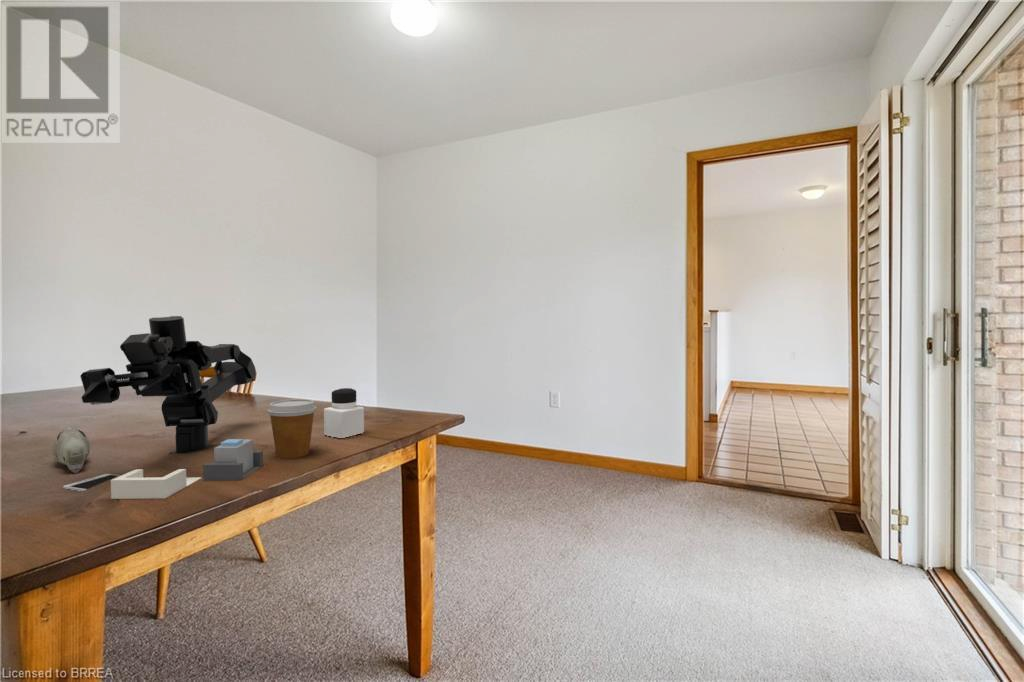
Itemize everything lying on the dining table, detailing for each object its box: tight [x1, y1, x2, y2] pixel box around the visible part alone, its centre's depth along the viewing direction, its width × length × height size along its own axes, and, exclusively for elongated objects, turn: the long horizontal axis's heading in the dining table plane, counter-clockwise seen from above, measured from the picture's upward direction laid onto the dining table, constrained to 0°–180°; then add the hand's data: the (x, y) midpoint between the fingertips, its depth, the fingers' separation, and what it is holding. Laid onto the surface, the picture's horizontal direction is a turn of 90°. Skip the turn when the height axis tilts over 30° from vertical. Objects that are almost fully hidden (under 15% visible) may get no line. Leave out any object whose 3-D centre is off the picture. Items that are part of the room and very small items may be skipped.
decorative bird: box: [52, 422, 91, 474], centre depth 96 cm, size 5×16×7 cm, turn 46°
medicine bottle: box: [323, 387, 365, 439], centre depth 123 cm, size 7×7×12 cm
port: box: [110, 468, 203, 500], centre depth 82 cm, size 10×8×4 cm
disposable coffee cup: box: [267, 398, 317, 459], centre depth 102 cm, size 10×10×12 cm
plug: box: [213, 438, 254, 473], centre depth 90 cm, size 6×4×6 cm, turn 3°
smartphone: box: [62, 473, 120, 492], centre depth 84 cm, size 7×16×1 cm, turn 73°
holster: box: [202, 450, 264, 481], centre depth 90 cm, size 9×6×4 cm
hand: (112, 396), depth 81 cm, fingers open, 9 cm apart
